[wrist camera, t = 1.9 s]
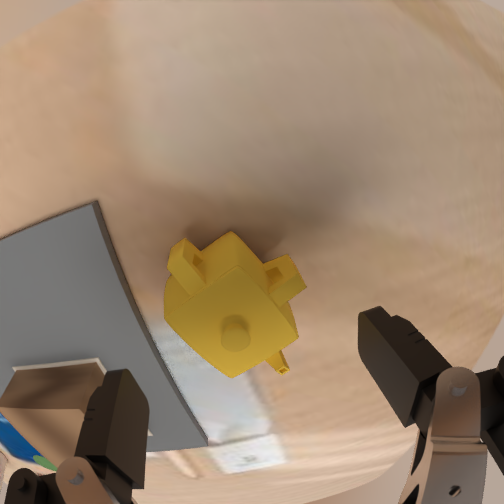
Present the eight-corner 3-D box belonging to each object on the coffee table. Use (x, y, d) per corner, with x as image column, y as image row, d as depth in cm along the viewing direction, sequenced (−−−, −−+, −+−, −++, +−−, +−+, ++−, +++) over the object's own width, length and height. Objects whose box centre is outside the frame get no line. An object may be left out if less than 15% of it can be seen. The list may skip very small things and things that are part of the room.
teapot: (318, 296, 17) (354, 351, 13) (239, 348, 18) (250, 412, 13) (238, 185, 14) (253, 210, 10) (148, 254, 15) (126, 307, 10)
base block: (96, 362, 16) (79, 408, 12) (147, 433, 19) (143, 475, 15) (16, 370, 16) (-5, 406, 12) (70, 435, 19) (60, 470, 15)
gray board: (97, 200, 14) (90, 204, 13) (207, 438, 21) (208, 446, 20) (-68, 274, 13) (-74, 279, 12) (47, 443, 20) (45, 449, 20)
